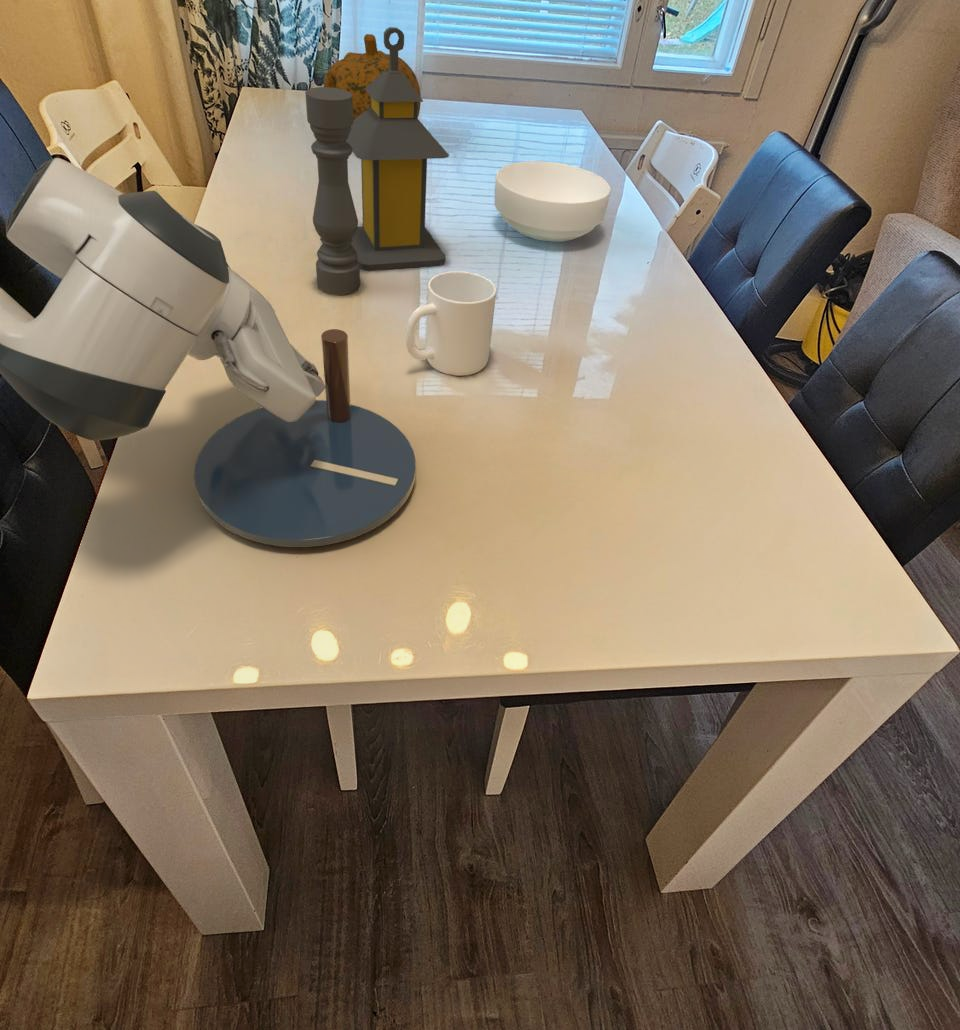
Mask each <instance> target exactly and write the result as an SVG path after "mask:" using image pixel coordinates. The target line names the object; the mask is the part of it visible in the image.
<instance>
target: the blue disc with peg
mask: <svg viewBox="0 0 960 1030" xmlns="http://www.w3.org/2000/svg"><path fill="white" fill-rule="evenodd" d="M320 336H321V351H322V363H323V364H322V365H323V375H324V377H323V378H324V384H325V389H324V391H325V392H324V393H325V400H324V399H316V401H315V402H314V404H313V405H312V406H311V407H310V408H309V409H308V411H307V412H306V413H305V414H304V415H303V416H302V417H301V418H300V419H299V420H298V421H296V422H286V421H284V420H282V419H281V418H279V417H277V416H276V415H274V414H273V413H271V412H269V411H268V410H266V409H265V408H263V407H262V406H261V407H259V408H256V409H254V410H250V411H249V412H246V413H244V414H242V415H240V416H238V417H236V418H233V419H232V420H231V421H228V422H227V423H226V424H224V425H223V426H222V427H221V428H219V429H218V430H217V431H216V432H215V433H213V435H211V437H209V438H208V439H207V441H205V444H204V445H203V446H202V448H201V450H200V452H199V453H198V456H197V458H196V461H195V464H194V471H193V478H194V486H195V490H196V493H197V497H198V499H199V502H200V504H201V505H202V507H203V509H204V511H206V513H207V514H208V515H209V516H210V517H211V518H212V520H213V521H215V522H216V523H217V524H219V525H220V526H221V527H222V528H225V529H226V530H227V531H230V532H231V533H233V534H235V535H237V536H239V537H241V538H244V539H245V540H250V541H253V542H256V543H259V544H264V545H270V546H274V547H284V548H311V547H312V548H313V547H323V546H327V545H333V544H338V543H341V542H344V541H345V542H346V541H348V540H349V541H350V540H352V539H354V538H357V537H360V536H363V535H365V534H367V533H369V532H371V531H373V530H374V529H377V528H378V527H380V526H382V525H383V524H384V523H385V522H387V521H389V520H390V519H391V518H392V517H393V516H394V515H395V514H397V513H398V511H400V509H401V508H402V507H403V506H404V504H405V503H406V502H407V500H408V498H409V497H410V495H411V493H412V491H413V488H414V485H415V481H416V473H417V471H416V470H417V465H416V464H417V462H416V457H415V452H414V449H413V447H412V445H411V443H410V441H409V439H407V436H406V435H405V433H404V432H402V431H401V429H399V427H397V426H396V425H395V424H393V422H391V421H390V420H388V419H387V418H385V417H383V416H382V415H380V414H378V413H376V412H374V411H372V410H369V409H368V408H364V407H360V406H358V405H354V404H351V401H352V400H351V384H350V383H351V381H350V361H349V360H350V359H349V339H348V337H349V336H348V334H347V332H346V331H345V330H342V329H338V328H330V329H326V330H325V331H323V332H322V333H321V335H320Z"/></svg>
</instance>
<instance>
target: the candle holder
mask: <svg viewBox="0 0 960 1030" xmlns="http://www.w3.org/2000/svg"><path fill="white" fill-rule="evenodd" d="M304 95H305V106H306V120H307V122H308V124H309V128H310V130H311V132H312V133H313V136H314V138H315V141H313V143H312V144H311V145H310V150H311V152H312V154H313V155H315V157H316V159H317V160H316V162H317V174H318V175H317V176H318V177H317V178H318V181H317V182H318V183H317V187H316V189H317V190H316V195H315V201H314V207H313V214H312V224H313V227H314V229H315V232H316V234H317V235H318V236H319V237H320V238H319V239H320V242H321V245H320V247H318V249H317V252H316V256H317V260H316V262H315V272H316V284H317V288H318V290H320V291H321V292H322V293H325V294H328V295H333V296H348V295H351V294H354V293H356V292H357V291H359V289H360V287H361V271H360V270H361V269H360V265H359V262H358V260H356V258H357V256H358V255H357V252H356V250H355V249H354V248H353V246H352V245H351V242H352V241H353V240H352V237H353V236H354V234H355V232H356V230H357V227H359V219H358V214H357V210H356V208H355V204H354V200H353V196H352V192H351V191H352V190H351V188H350V184H349V167H348V166H349V164H348V163H349V162H348V160H349V157H350V156H351V155H352V154H353V151H352V147H351V145H350V144H349V143H347V139H348V136H349V133H350V132H351V126H352V124H353V96H352V94H351V93H350V92H348V91H346V90H343V89H338V88H331V87H324V86H320V87H312V88H309V89H307V90H305V92H304Z"/></svg>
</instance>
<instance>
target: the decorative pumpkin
mask: <svg viewBox="0 0 960 1030" xmlns="http://www.w3.org/2000/svg"><path fill="white" fill-rule="evenodd" d="M363 41H364V50H365V53H359V52H353V51H352V52H351V51H349V52H347V53H346V54H345V55H344V57H343V58H342V59H339V60H337V61H335V62H334V63H333V64H332V65H331V66H330V67H329V68H328V71H327V72H326V74H325V76H324V82H323V87H331V88H338V89H343V90H346V91H348V92H350V93H351V94H352V96H353V120H355V119H356V118H357V117H358V116H360V115H361V114H362V113H363V112H365V111H366V110H367V109H368V108H370V107H371V96H370V95H369V93H368V92H367V91H366V90H365V88H366V87H367V86H368V85H369V84H370V83H371V82H373V81H374V80H375V79H376V78H377V77H378V76H379V75H380V74H381V73H382V72H383V71H384V70H386V69H390V53H385V52H383V51H382V50H378V44H377V39H376V36H375V35H374V34H373V33H366V34H365V35H364V36H363ZM398 70H400V71H401V72H402V73H403V75H404V76H405V77H406V79H407V80H408V81H409V83H410V84H411V85H412V87H413V88H414V89H415V91H416V92H417V93H418V95H419V96H420V97H421V88H420V84H419V80H418V78H417V76H416V74H415V72H414V71H413V70H412V68H411V66H409V64H408V63H407V62H406V61H405V60H404V59H402V58H401V57H399V56H398ZM421 98H422V97H421ZM421 103H422V102H417V118H418V119H419V117H420V112H421V111H420V110H421Z"/></svg>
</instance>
